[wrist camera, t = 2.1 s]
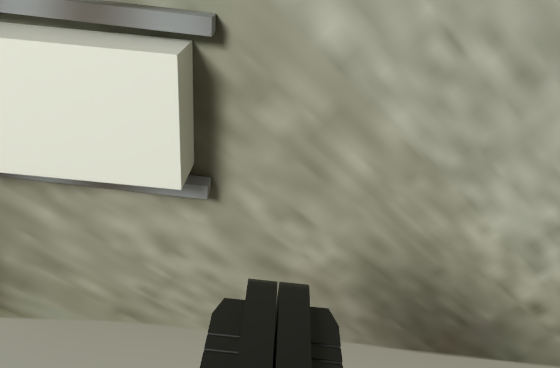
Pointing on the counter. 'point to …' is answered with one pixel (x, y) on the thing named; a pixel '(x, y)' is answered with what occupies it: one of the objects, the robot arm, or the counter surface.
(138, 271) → the counter surface
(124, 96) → the cream rectangular block
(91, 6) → the overhang
